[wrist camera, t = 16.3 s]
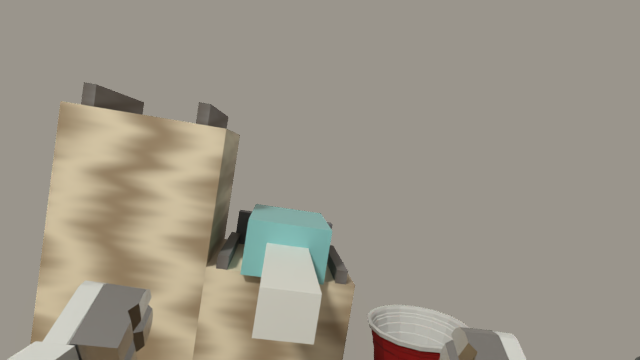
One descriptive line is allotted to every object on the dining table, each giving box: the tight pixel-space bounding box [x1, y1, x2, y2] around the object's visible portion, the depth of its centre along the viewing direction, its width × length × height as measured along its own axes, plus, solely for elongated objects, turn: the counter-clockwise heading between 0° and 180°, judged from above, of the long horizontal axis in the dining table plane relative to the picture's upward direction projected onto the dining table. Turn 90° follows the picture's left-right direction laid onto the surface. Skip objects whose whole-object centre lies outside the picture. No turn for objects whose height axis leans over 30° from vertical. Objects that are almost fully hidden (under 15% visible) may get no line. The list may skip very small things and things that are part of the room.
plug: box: [240, 204, 332, 345], centre depth 27 cm, size 6×17×4 cm, turn 6°
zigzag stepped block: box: [31, 82, 355, 360], centre depth 32 cm, size 22×9×30 cm, turn 96°
